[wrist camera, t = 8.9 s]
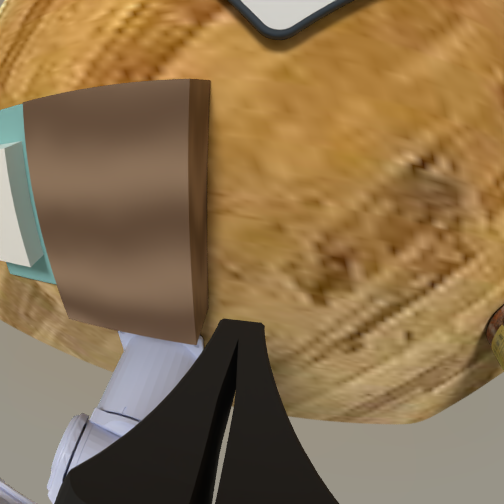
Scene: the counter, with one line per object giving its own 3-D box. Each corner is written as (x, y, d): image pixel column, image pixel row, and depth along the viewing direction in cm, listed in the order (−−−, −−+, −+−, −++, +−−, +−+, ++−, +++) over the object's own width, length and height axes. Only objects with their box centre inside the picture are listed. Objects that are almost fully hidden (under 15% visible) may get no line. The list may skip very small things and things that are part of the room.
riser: (208, 307, 23) (196, 345, 20) (91, 288, 24) (69, 318, 20) (210, 80, 15) (189, 78, 12) (62, 94, 15) (22, 102, 12)
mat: (86, 287, 24) (84, 290, 23) (12, 271, 24) (10, 273, 24) (57, 95, 15) (53, 96, 15) (-21, 117, 16) (-24, 118, 16)
